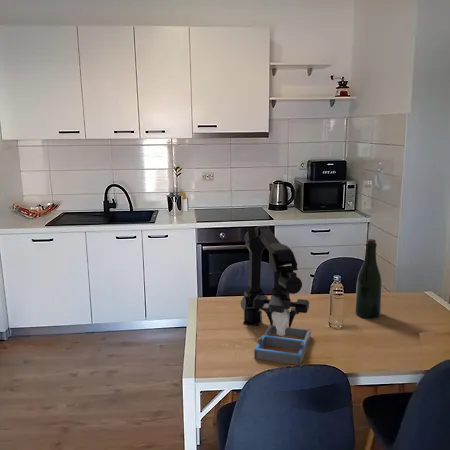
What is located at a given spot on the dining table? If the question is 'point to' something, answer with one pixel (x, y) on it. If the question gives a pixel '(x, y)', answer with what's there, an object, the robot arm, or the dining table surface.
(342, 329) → the dining table surface
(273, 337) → the tray organiser
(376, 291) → the green wine bottle
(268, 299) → the robot arm
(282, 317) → the light bulb
